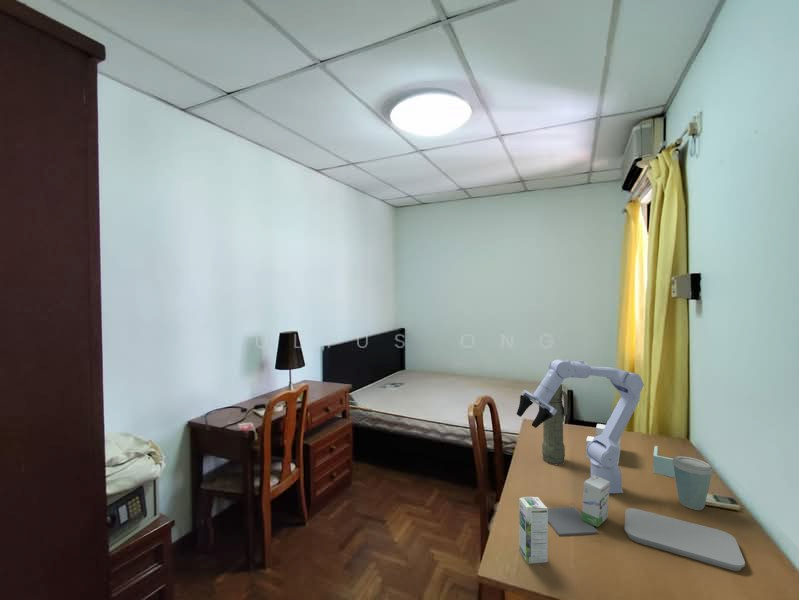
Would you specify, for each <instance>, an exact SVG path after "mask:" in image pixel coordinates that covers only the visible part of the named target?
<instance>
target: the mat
mask: <svg viewBox="0 0 799 600" xmlns="http://www.w3.org/2000/svg"><path fill="white" fill-rule="evenodd" d="M547 508H548V524H549V525H550V527H551V528H552V530H554V532H555V533H556V535H558V536H559V537H563V536H564V537H565V536H579V535H581V536H584V535H597V534H598V535H599V531H598V529H597V528H595V527H594V525H592V524H590V523H588V522H586V521H583V520H582V512H580V511H579V510H578V509H577V508H576V507H575V506H563V507H562V506H561V507H547Z"/></svg>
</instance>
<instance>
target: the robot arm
mask: <svg viewBox="0 0 799 600" xmlns="http://www.w3.org/2000/svg"><path fill="white" fill-rule="evenodd" d="M590 376H595V377H600V378H601V377H604V378H606V379H608V380H609V382H610V383H611V385H613V387H614V389H616V391H617V392H618V395H619V397H620V398H619V400H618V401H617V404H616V406H615V407H614V409H613V411H612V413H611V415H610V417H609V419H608V420H607V421H608V422H606V424H605V425H606V426H605V428H604V430H603V432H602V434H601V435H598V436H596V435H595V436H593V437H594V439H593V440H592V441H591V442H590V443H589V444H588V445H587V447H586V446H585V447H586V448H585V451H586V452H587V454H588V455H589V456H590V459H589V460H590V478H591V477H592V476H594V475H595V476H598V477H600V478H603V479H605V480H607V481H610V488H609V495H610V494H623V493H624V491H623V489H622V485H623V483H622V482H623V481H622V475H623V474H622V471H621V468H620V466H619V464H618V465H617V461H618V454H619V452H620V453H621V450H619V448H618V445H617V442H618V440H619V438H620V439H621V436H622V435H623V433H624V431H625V429H626V427H627V424H628V423H629V422H630V419H631V417H632V415H633V413H634V411H635V410H636V408H637V406H638V404H639V402H640V400H641V399H640V398H641V391H642V389H643V387H644V385H645V384H644V382H643V379H642V377H641V375H639V374H638V373H636V372H630V371H626V370H623V369H621V368H614V367H612V366H611V367H610V366H591V365H589V364H588V362H585V360H582V359H580V360H579V359H578V361H571V360H570V359H566V360H565V361H564V360H562V359H555V360H553V361H552V362H549V364H548V370H547V373H546V375H545V376H544V377H543V379H542V380H541V382H540V384H538V386H537V388H536V389H535V391H534V392H533V394H532V393H531V392H529V391H528V390H526V389H523V391H522V392H521V394H520V396H519V405H518V408H517V411H516V415H517V416H518V417H520V418H521V417H522V416H523V415H524V414H525V412H526V411H527V410H528V408H529V407H531V406H532V405H533V404H534V403H535V404H536V405H538V407H539V406H540V409H539V408H538V412H537V414H536V417H535V418H534V420H533V421H532V424H531V426H532V427H533V428H535V429H537V428H538V427H539V426H540V425H542V424H543V422H544V421H546V420H547V419H549V418H552V417H553V416H552V414H553V415H555V414H556V412H557V410H556V409H555V408H553V407H551V406H550V405H548V403H549V401H550V400H551V398H552V397H553V395H554V394H555V392H556V391H557V389H558V388H559V386H560V385H561V384H562V383H563V382H564V381H565V379H569V378H576V379H588V378H589V377H590ZM539 402H540V403H541V404H542V405H543V406H542V405H541V404H539ZM542 407H543V408H542ZM605 446H606V447H605ZM586 452H585V453H586Z"/></svg>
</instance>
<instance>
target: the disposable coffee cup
mask: <svg viewBox="0 0 799 600" xmlns="http://www.w3.org/2000/svg"><path fill="white" fill-rule="evenodd" d="M672 459H673V461H672V463H673V466H674V472H675V478H674V479H675V485H676V489H677V490H676V491H677V498H678V502H679V504H681V506H683V507H686V508H688V509H691V510H695V511H702V510H703V509H704V507H706V502H707V498H708V492H709V488H710V483H711V478H712V475H713V474H714V469H713V467H712V466H711V465H710V464H709V463H707V462H705V461H703V460H701V459H697V458H695V457H689V456H679V455H678V456H675V457H674V458H672Z"/></svg>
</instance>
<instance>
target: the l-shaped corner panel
mask: <svg viewBox="0 0 799 600" xmlns="http://www.w3.org/2000/svg"><path fill="white" fill-rule="evenodd" d="M652 459H653V460H652V461H653V466H652V467H653V469H652V470H653V474H655V473H657V474H656V475H660V474H661V475H660V476H664V475H665V477H668V476H669V478H673V479H675V472H674V466H673V463H672V461H673V459H674V458H671V457H666V456H662V455H659V447H658V445H654V448H653V457H652Z"/></svg>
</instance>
